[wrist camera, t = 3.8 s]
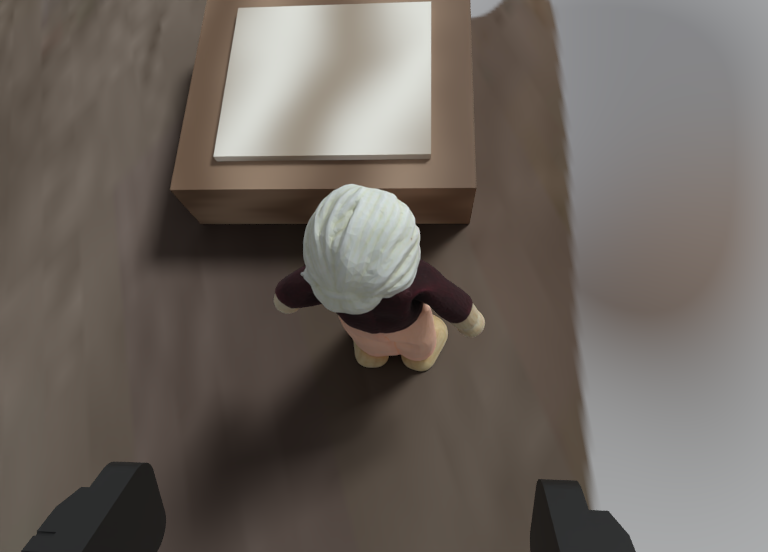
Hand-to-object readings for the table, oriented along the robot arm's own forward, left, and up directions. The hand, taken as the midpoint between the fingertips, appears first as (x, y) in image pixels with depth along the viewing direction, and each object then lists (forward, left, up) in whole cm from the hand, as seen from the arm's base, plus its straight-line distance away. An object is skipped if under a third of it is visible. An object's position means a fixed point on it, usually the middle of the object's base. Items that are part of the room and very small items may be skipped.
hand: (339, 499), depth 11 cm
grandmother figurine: (0, +6, -13) cm, 14 cm away
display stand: (-3, +18, -12) cm, 22 cm away
